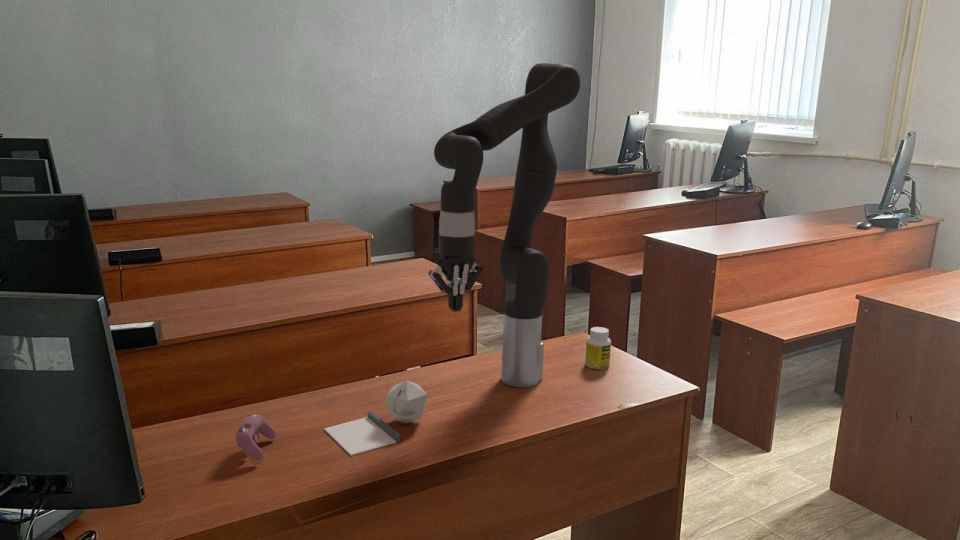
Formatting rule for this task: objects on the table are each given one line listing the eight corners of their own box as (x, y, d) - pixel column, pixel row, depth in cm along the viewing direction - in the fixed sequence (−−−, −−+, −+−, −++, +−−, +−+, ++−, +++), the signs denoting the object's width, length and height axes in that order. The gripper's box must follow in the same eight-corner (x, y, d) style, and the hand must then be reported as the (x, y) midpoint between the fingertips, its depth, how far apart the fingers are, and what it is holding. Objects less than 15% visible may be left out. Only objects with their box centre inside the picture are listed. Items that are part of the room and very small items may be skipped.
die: (378, 426, 153) (377, 383, 150) (401, 410, 160) (401, 369, 158) (411, 436, 149) (411, 391, 146) (434, 419, 156) (434, 376, 154)
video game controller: (257, 440, 147) (246, 410, 145) (278, 436, 146) (267, 405, 145) (240, 466, 137) (228, 433, 135) (263, 460, 137) (250, 428, 135)
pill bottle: (603, 376, 182) (606, 335, 179) (580, 371, 185) (583, 330, 182) (612, 369, 187) (615, 328, 184) (590, 363, 190) (593, 324, 187)
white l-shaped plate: (371, 417, 157) (371, 410, 156) (400, 441, 147) (400, 434, 146) (324, 429, 151) (324, 423, 150) (351, 456, 140) (350, 449, 140)
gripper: (472, 225, 158) (470, 301, 162) (420, 231, 150) (420, 310, 155) (493, 232, 152) (490, 310, 156) (439, 238, 144) (438, 320, 149)
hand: (455, 310), depth 155 cm, fingers closed
